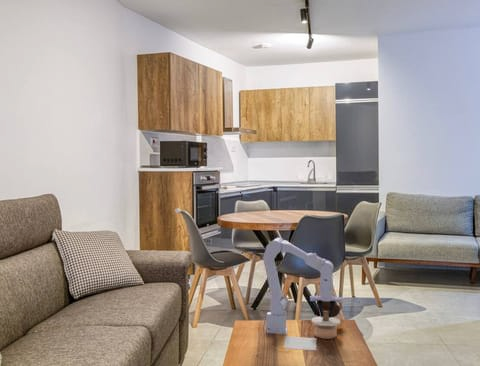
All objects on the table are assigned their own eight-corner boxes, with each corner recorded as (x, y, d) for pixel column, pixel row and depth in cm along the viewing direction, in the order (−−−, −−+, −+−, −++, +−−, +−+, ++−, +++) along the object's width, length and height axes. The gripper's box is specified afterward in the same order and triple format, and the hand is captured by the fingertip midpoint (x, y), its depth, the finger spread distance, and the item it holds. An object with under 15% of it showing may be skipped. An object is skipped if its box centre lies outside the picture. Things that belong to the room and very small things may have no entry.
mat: (283, 349, 213) (283, 347, 213) (285, 337, 227) (285, 336, 227) (316, 351, 211) (316, 350, 211) (316, 339, 225) (316, 338, 225)
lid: (310, 324, 223) (310, 314, 223) (312, 317, 235) (313, 307, 235) (339, 327, 219) (339, 316, 219) (340, 319, 232) (340, 309, 232)
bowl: (314, 340, 224) (314, 329, 224) (314, 332, 234) (314, 321, 234) (336, 341, 222) (337, 330, 222) (336, 333, 232) (336, 323, 232)
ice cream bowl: (342, 329, 238) (343, 298, 237) (319, 329, 238) (320, 298, 238) (339, 322, 249) (339, 292, 248) (316, 321, 249) (317, 292, 248)
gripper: (310, 289, 224) (309, 318, 225) (342, 290, 222) (342, 320, 222) (310, 285, 231) (310, 313, 232) (342, 286, 229) (341, 315, 229)
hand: (325, 316), depth 228 cm, fingers closed on lid, 3 cm apart
